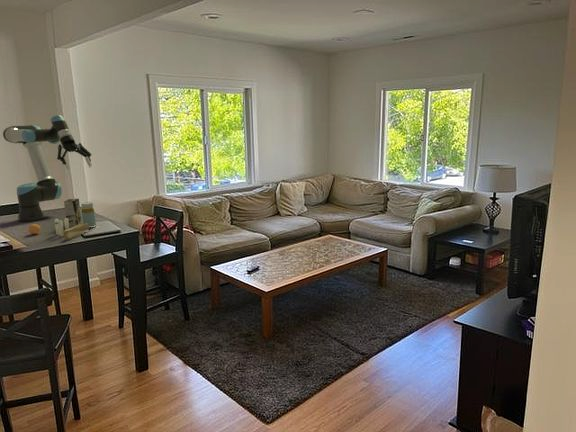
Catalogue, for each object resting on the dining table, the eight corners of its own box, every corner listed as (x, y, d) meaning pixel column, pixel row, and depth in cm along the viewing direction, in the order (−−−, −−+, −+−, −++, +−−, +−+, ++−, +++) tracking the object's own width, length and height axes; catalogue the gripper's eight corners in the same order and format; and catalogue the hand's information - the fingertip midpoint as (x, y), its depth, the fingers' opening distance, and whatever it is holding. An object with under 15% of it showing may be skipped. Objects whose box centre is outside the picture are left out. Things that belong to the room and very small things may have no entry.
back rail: (64, 239, 239) (63, 230, 238) (84, 231, 256) (83, 222, 255) (69, 239, 239) (68, 231, 237) (89, 231, 256) (88, 223, 255)
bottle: (91, 228, 261) (88, 204, 258) (81, 228, 263) (78, 204, 259) (98, 225, 268) (95, 202, 265) (88, 225, 269) (85, 201, 266)
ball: (26, 235, 249) (25, 225, 248) (34, 232, 255) (32, 222, 254) (36, 235, 248) (34, 225, 247) (43, 232, 254) (41, 222, 253)
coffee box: (78, 226, 267) (74, 200, 264) (66, 227, 266) (63, 201, 263) (82, 223, 276) (79, 198, 273) (71, 223, 275) (68, 198, 272)
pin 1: (59, 236, 246) (57, 221, 243) (61, 235, 247) (59, 220, 245) (62, 236, 245) (60, 221, 243) (65, 235, 247) (62, 220, 245)
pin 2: (65, 234, 250) (63, 219, 248) (67, 233, 252) (65, 218, 250) (68, 234, 250) (66, 219, 248) (70, 233, 252) (68, 218, 250)
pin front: (55, 235, 249) (53, 219, 247) (58, 234, 251) (55, 219, 249) (58, 235, 248) (56, 220, 246) (61, 234, 250) (59, 219, 248)
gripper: (46, 135, 255) (60, 166, 252) (87, 133, 274) (101, 162, 271) (43, 143, 260) (57, 173, 256) (83, 140, 279) (97, 168, 276)
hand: (79, 167), depth 264 cm, fingers open, 13 cm apart
